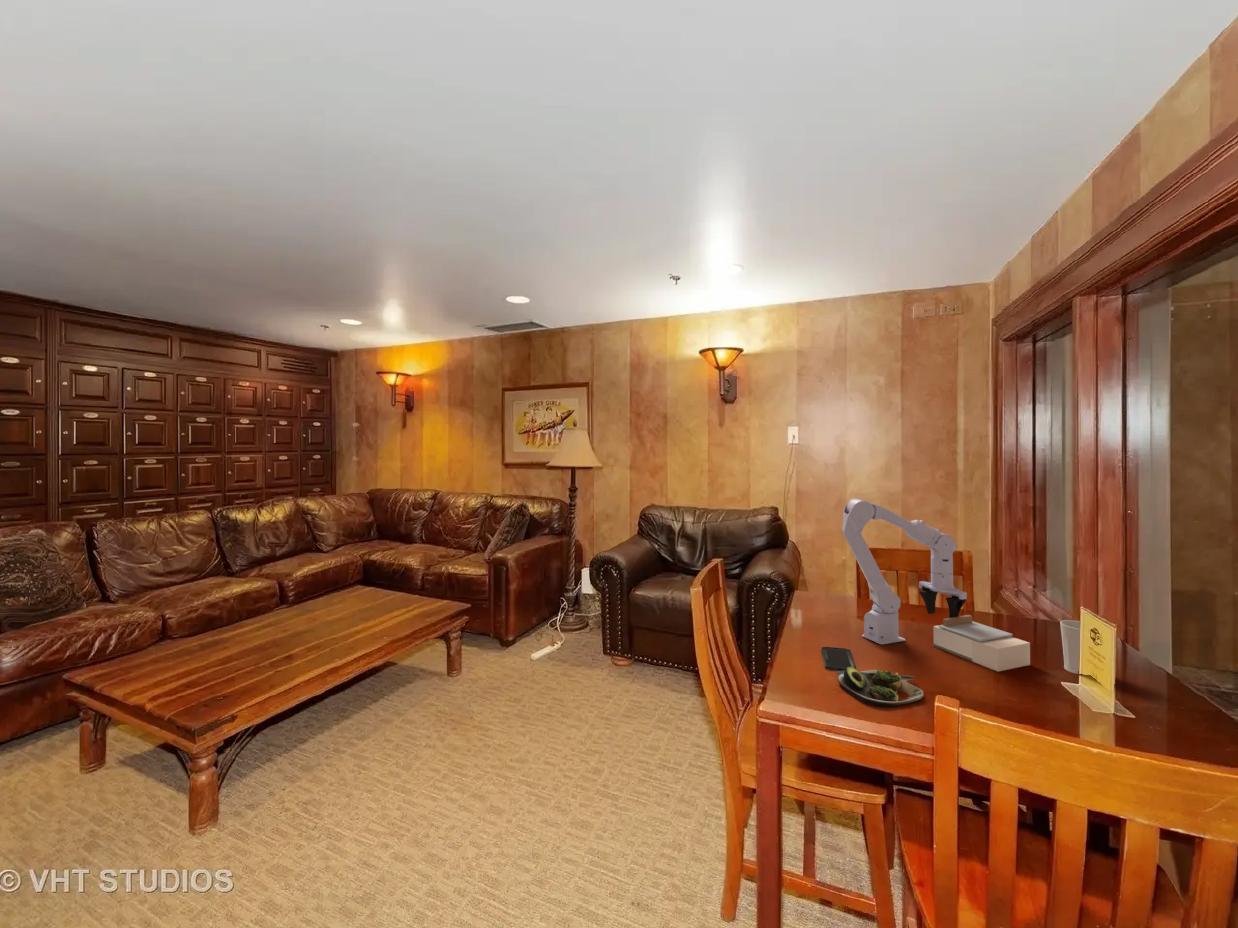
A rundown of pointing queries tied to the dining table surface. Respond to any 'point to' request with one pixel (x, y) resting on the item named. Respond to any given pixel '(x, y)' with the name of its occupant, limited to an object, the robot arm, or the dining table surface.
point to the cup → (1071, 644)
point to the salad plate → (878, 686)
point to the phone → (837, 658)
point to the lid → (972, 629)
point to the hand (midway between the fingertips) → (942, 616)
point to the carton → (985, 649)
